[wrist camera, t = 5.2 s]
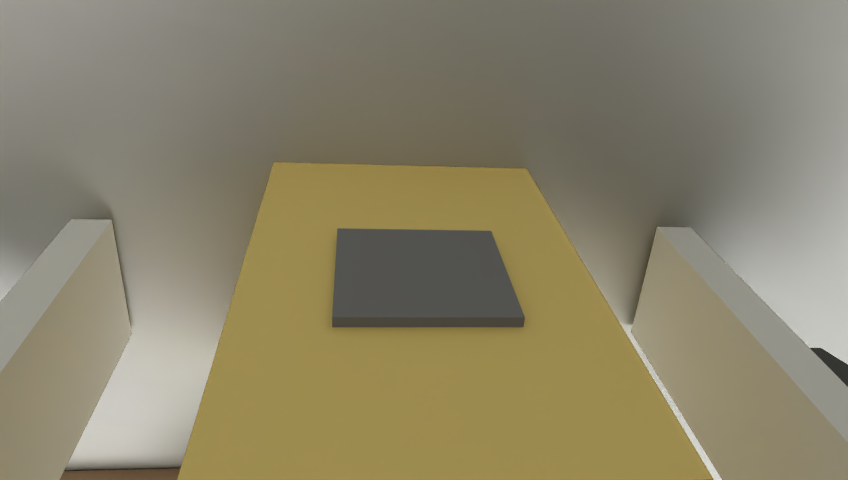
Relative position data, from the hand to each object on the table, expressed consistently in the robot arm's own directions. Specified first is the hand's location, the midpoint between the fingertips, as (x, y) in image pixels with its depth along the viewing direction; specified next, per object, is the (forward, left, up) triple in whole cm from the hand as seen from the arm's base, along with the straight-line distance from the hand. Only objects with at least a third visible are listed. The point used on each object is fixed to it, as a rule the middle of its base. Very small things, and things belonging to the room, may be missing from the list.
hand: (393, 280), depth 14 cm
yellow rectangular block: (0, 0, 0) cm, 0 cm away
